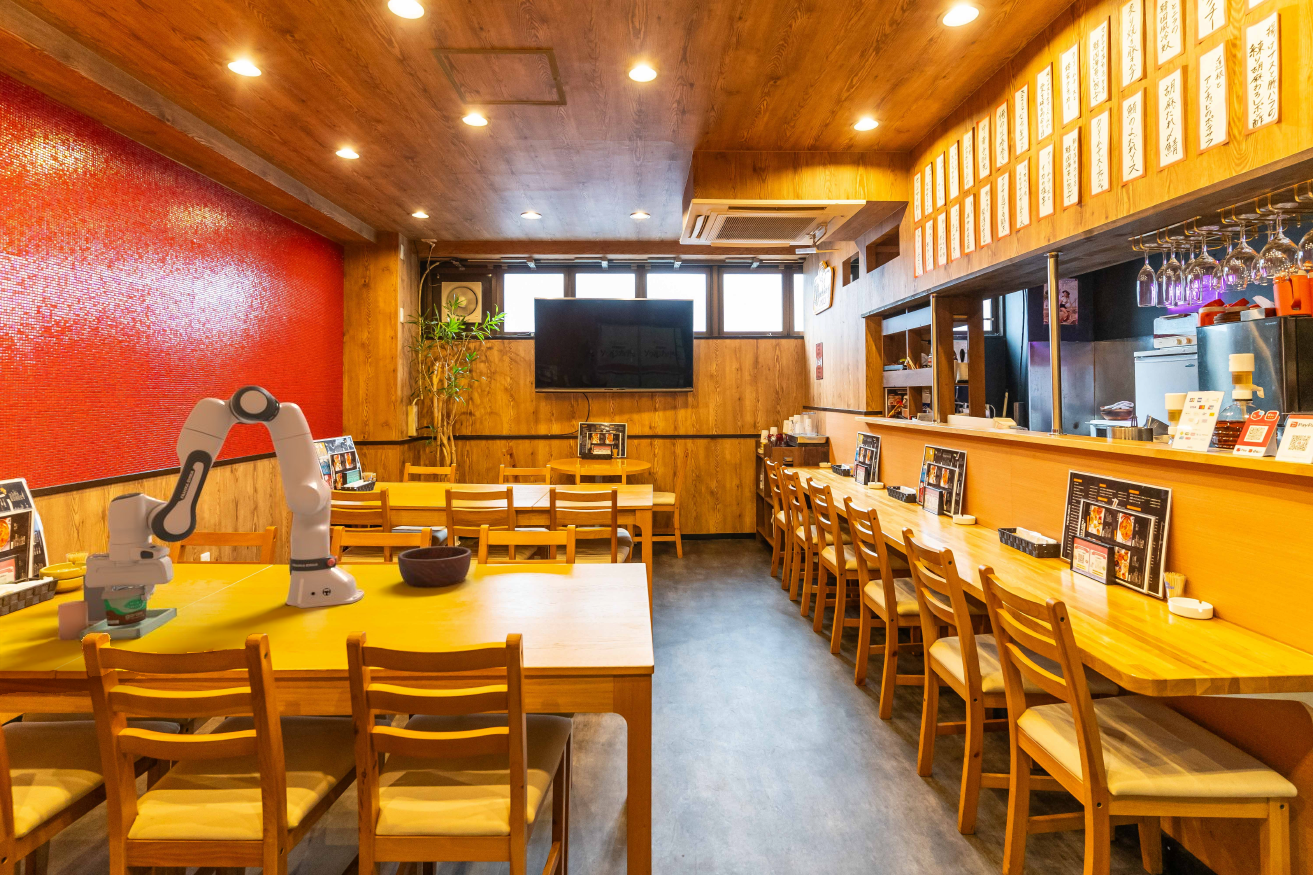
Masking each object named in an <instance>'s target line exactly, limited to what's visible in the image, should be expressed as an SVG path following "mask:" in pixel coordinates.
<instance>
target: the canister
mask: <svg viewBox="0 0 1313 875" xmlns="http://www.w3.org/2000/svg"><path fill="white" fill-rule="evenodd" d="M57 612H58V614H57V617H58V618H57V619H58V620H57V621H58V640H59V641H62V642H63V641H64V642H65V641H66V642H67V641H75V640H79V632H81V631H83V630H85V629H87V628H89V625H88V601H84V600H72V601H65V602H63V603H60V604H58V605H57Z"/></svg>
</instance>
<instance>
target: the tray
mask: <svg viewBox="0 0 1313 875" xmlns="http://www.w3.org/2000/svg"><path fill="white" fill-rule="evenodd" d="M177 610H178V609H177V607H168V608H167V607H165V608H146V619H145V620H143V621H141V622H138V623H134V624H129V625H123V626H108V625H107V619H105V620H103V621H101V622H99V623H97V624H94V625H91V626H88V628H87V629H85V630H83V631H81V632H79V639H78V640H79V642H80V643H81V640H82V639H83V637H85V636H86V635H87V634H90V633H108V634H109V635H110V638H111V640H110V641H113V640H115V641H117V640H128V639H129V640H130V639H141V638H143V637H145V636H146V635H148V634H149V633H151V632H153V631H155V630H156V629H158V628H160V627H161V626H163V625H164V624H166V623H168V622H170V621H171V620H174V619H175V618H176V617H177V616H178V611H177Z"/></svg>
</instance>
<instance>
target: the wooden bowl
mask: <svg viewBox="0 0 1313 875" xmlns="http://www.w3.org/2000/svg"><path fill="white" fill-rule="evenodd" d="M471 560H472V551H471V549H469V548H466V547H462V546H450V545H447V546H446V545H445V546H443V545H442V546H441V545H438V546H427V547H420V548H419V547H417V548H413V549H408V550H404V551H402V552H400V553H399V554H398V555H397V562H398V568H399V574H400V575H401V576H400V577H401V578H402V581H404V583H405V584H406V585H407V586H410V587H412V588H413V587H415V588H440V587H447V586H448V587H449V586H453V585H455V584H459V583H460V582H462V581H463V580H465V578H466V576H467V575H468V573H469V570H470V565H471Z"/></svg>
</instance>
